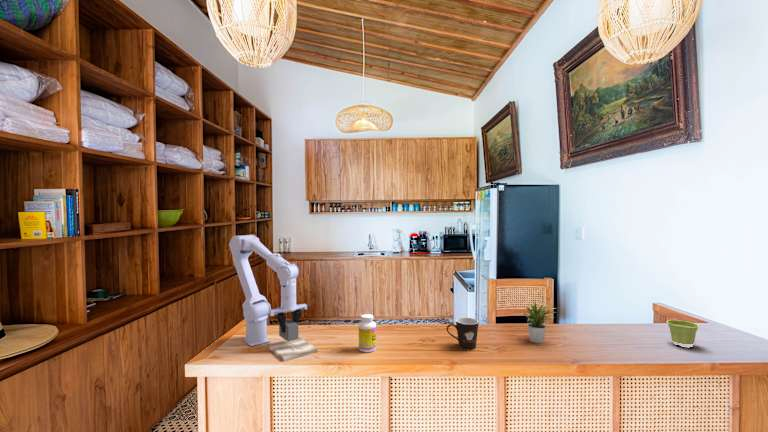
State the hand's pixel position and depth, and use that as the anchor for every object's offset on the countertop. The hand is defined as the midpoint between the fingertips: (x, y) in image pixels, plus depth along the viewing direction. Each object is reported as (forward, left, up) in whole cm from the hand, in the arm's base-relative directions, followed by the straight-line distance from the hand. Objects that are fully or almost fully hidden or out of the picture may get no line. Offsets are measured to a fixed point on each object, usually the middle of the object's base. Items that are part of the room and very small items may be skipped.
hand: (288, 330), depth 132 cm
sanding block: (0, 0, -3) cm, 3 cm away
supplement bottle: (+21, +22, -7) cm, 31 cm away
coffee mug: (+42, +53, -7) cm, 68 cm away
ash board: (+3, 0, -6) cm, 7 cm away
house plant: (+58, +79, -7) cm, 99 cm away
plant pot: (+96, +119, -7) cm, 153 cm away
